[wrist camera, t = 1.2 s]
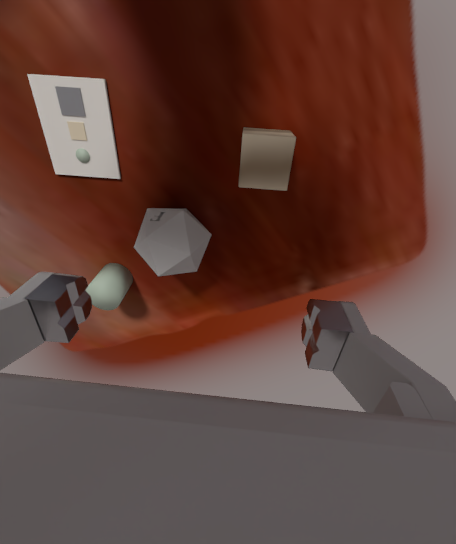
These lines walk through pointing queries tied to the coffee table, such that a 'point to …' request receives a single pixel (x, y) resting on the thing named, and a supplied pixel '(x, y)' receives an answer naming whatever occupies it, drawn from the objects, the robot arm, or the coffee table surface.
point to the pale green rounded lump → (110, 286)
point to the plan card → (76, 125)
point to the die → (172, 241)
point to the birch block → (266, 158)
